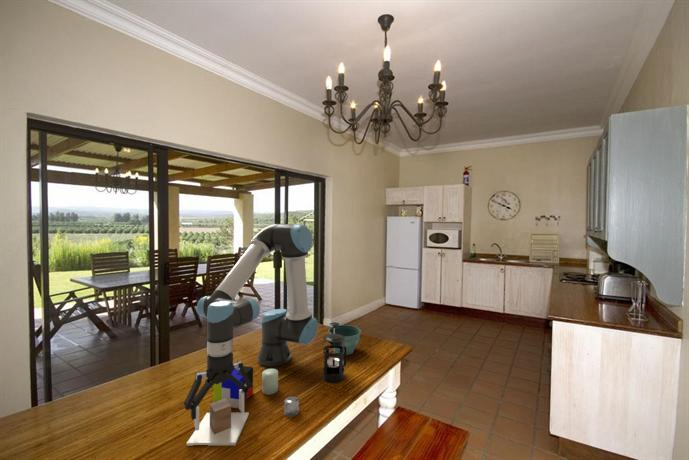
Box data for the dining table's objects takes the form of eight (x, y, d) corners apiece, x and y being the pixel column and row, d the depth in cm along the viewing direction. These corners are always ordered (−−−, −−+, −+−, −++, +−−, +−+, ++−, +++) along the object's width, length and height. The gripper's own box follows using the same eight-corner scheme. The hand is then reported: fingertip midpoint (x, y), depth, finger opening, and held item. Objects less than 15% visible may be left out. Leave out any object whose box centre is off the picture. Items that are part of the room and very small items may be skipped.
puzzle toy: (238, 408, 106) (238, 380, 106) (213, 404, 108) (213, 377, 108) (252, 392, 116) (252, 367, 116) (229, 389, 118) (229, 364, 118)
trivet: (186, 445, 89) (186, 442, 89) (206, 415, 103) (206, 412, 103) (235, 445, 89) (235, 442, 89) (248, 414, 103) (248, 412, 103)
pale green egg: (259, 389, 119) (259, 371, 118) (273, 384, 122) (273, 367, 122) (266, 396, 114) (266, 378, 114) (280, 391, 118) (280, 373, 118)
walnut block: (209, 425, 96) (209, 403, 96) (225, 419, 99) (225, 398, 99) (214, 434, 92) (214, 411, 92) (231, 427, 95) (231, 405, 95)
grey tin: (281, 411, 105) (281, 399, 105) (294, 405, 108) (294, 394, 108) (288, 418, 101) (288, 406, 101) (301, 412, 105) (301, 401, 104)
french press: (331, 386, 122) (331, 329, 121) (316, 377, 128) (317, 323, 128) (352, 376, 130) (352, 322, 129) (337, 368, 136) (338, 317, 136)
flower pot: (366, 349, 157) (366, 328, 156) (349, 361, 143) (349, 338, 143) (339, 342, 165) (340, 322, 165) (321, 353, 152) (322, 331, 151)
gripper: (177, 368, 84) (178, 443, 85) (263, 346, 100) (262, 409, 101) (172, 358, 90) (173, 429, 91) (254, 339, 106) (253, 399, 106)
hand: (220, 419), depth 96 cm, fingers open, 13 cm apart
